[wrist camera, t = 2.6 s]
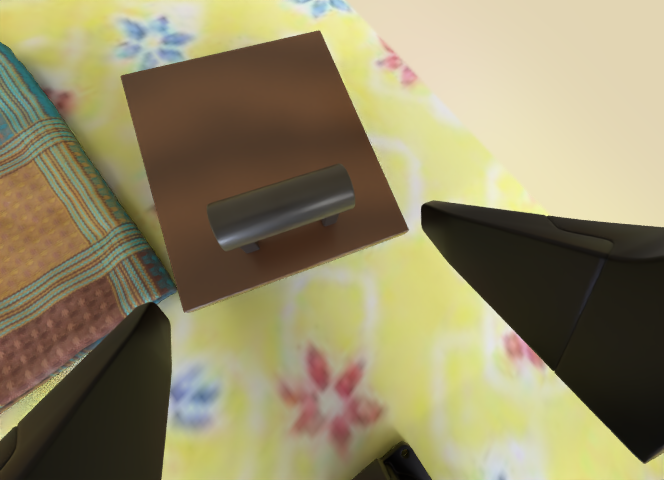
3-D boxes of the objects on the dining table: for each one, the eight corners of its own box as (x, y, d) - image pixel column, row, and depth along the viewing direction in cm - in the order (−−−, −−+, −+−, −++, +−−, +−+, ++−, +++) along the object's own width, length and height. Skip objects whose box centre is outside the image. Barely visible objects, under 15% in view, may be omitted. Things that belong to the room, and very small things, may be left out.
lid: (404, 234, 15) (455, 197, 10) (190, 313, 13) (114, 318, 8) (319, 41, 18) (324, -70, 12) (128, 86, 16) (39, -22, 11)
